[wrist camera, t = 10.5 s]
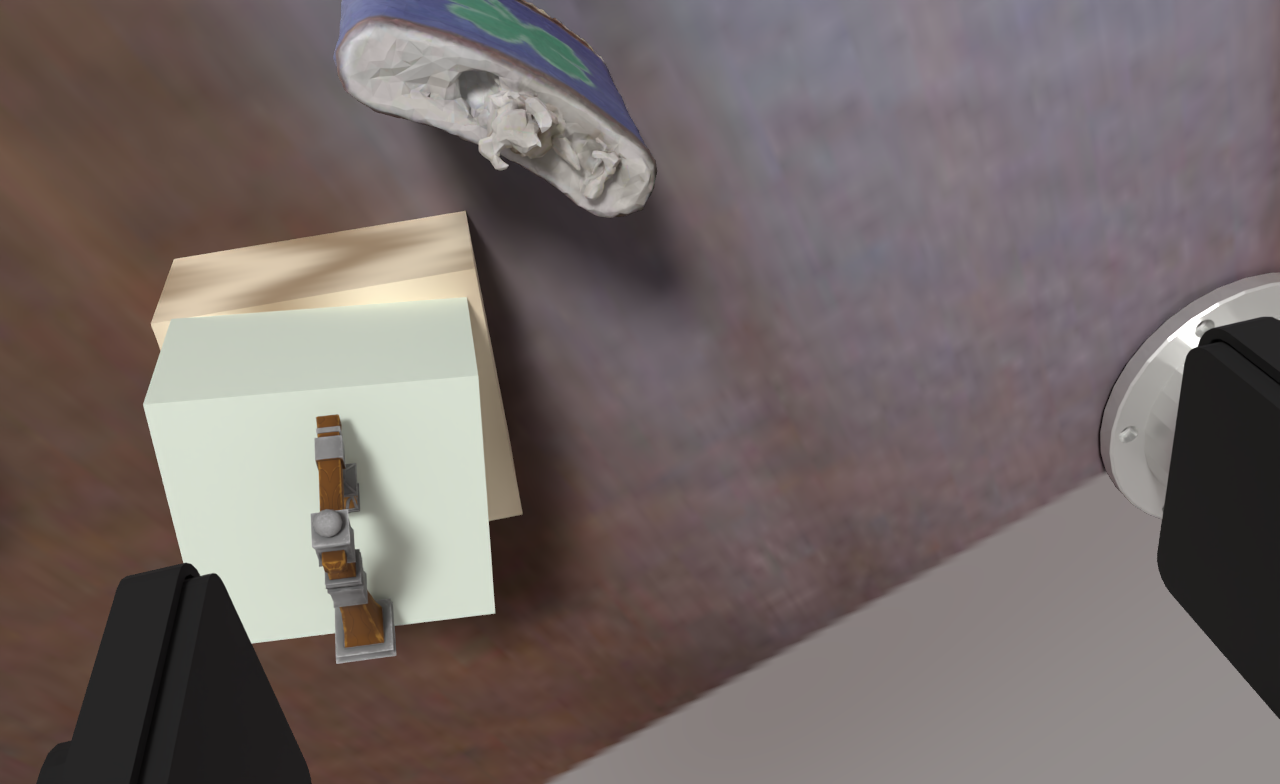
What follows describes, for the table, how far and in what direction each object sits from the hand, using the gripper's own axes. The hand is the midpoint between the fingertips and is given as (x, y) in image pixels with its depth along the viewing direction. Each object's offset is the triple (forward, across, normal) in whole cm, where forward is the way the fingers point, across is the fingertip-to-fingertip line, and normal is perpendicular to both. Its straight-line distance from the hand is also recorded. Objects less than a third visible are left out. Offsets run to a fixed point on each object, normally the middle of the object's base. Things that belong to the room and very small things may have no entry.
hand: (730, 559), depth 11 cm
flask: (+30, +1, +2) cm, 30 cm away
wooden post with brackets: (+20, +8, +13) cm, 25 cm away
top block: (+25, +8, +13) cm, 29 cm away
